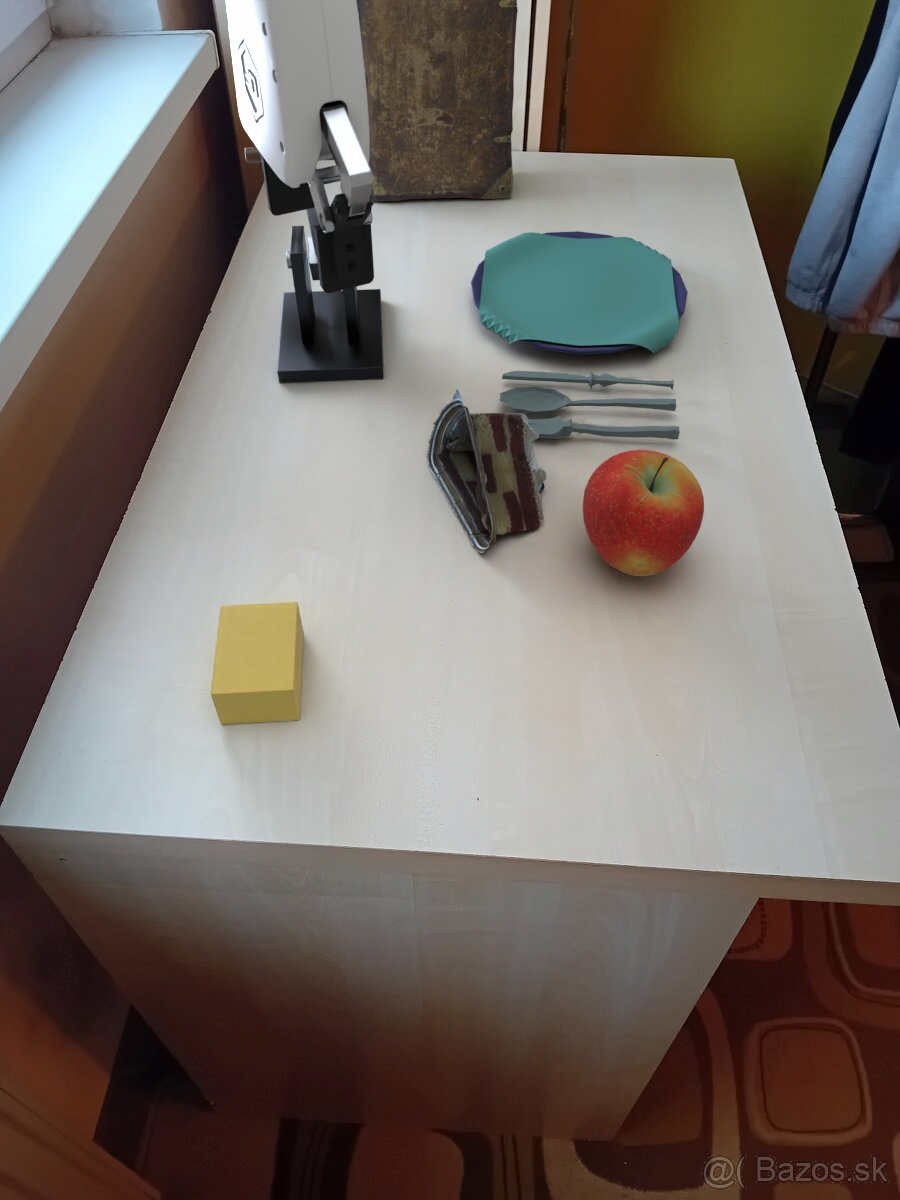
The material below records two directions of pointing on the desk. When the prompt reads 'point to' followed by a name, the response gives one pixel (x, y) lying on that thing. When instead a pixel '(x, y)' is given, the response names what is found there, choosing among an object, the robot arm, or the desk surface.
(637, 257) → the cutlery set
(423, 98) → the book
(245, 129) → the robot arm
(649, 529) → the apple
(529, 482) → the chocolate cake
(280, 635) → the butter
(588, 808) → the desk surface
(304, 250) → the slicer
